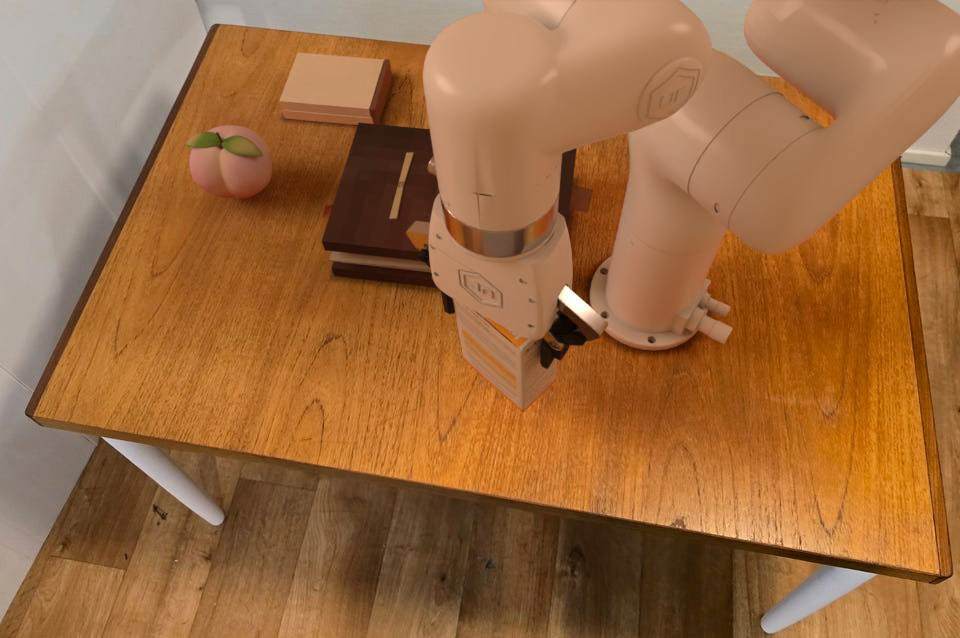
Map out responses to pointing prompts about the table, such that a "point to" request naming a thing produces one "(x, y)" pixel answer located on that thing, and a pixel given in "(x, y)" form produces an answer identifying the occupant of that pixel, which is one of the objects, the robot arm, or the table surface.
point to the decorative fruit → (230, 161)
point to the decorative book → (398, 204)
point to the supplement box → (504, 357)
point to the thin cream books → (336, 89)
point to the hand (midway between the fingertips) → (504, 326)
